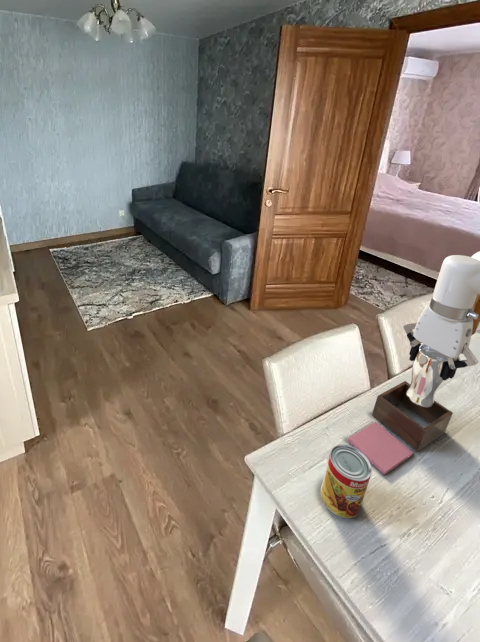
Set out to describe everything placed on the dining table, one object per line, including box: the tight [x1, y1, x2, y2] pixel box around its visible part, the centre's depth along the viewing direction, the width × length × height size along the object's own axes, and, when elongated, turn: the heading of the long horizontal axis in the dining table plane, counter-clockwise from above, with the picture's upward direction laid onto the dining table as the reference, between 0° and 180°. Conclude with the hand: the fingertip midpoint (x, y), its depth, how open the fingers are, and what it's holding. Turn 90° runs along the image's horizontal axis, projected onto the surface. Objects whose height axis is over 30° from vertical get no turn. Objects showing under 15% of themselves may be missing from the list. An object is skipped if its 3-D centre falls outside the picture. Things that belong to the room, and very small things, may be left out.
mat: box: [347, 421, 414, 476], centre depth 87 cm, size 11×10×1 cm
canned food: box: [320, 443, 373, 519], centre depth 73 cm, size 8×8×12 cm
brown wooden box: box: [371, 380, 454, 452], centre depth 93 cm, size 12×12×7 cm
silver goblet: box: [406, 343, 449, 408], centre depth 87 cm, size 7×7×15 cm
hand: (429, 367), depth 86 cm, fingers closed on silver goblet, 7 cm apart
